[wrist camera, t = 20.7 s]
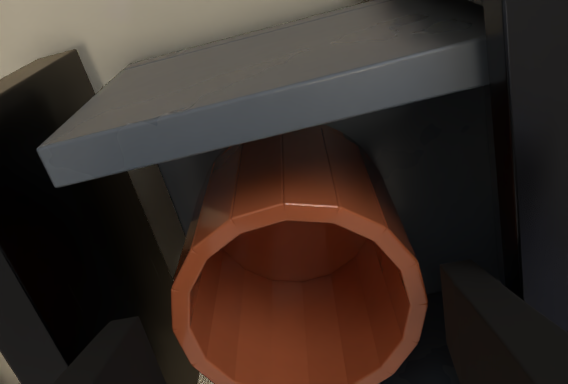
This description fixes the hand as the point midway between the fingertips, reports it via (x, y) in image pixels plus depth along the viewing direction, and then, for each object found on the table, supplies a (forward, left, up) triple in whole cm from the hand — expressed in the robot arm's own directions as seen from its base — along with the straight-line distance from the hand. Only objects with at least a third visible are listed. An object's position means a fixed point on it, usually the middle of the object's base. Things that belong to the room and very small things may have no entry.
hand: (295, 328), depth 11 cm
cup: (0, 0, -5) cm, 5 cm away
